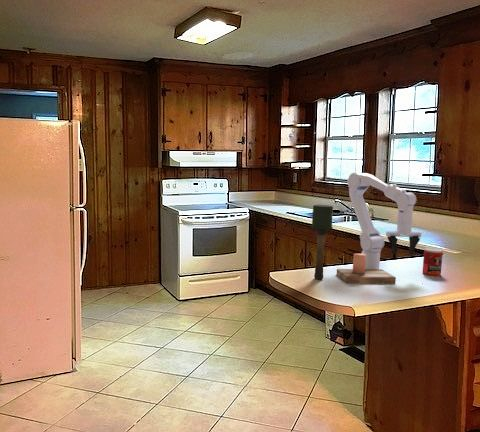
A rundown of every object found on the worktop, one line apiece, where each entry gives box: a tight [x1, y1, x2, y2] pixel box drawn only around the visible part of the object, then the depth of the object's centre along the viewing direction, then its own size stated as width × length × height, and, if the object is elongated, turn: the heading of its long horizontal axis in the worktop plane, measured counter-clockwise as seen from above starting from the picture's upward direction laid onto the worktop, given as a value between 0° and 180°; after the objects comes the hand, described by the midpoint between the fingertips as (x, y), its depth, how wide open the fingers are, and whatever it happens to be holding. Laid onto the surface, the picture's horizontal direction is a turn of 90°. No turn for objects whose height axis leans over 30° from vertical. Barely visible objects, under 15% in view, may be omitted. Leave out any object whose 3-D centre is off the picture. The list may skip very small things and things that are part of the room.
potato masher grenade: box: [310, 204, 334, 281], centre depth 211 cm, size 8×9×30 cm
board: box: [336, 268, 397, 284], centre depth 216 cm, size 14×20×2 cm
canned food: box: [422, 247, 444, 277], centre depth 230 cm, size 8×8×11 cm
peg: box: [352, 252, 366, 274], centre depth 215 cm, size 5×5×10 cm
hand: (402, 253), depth 219 cm, fingers open, 7 cm apart
